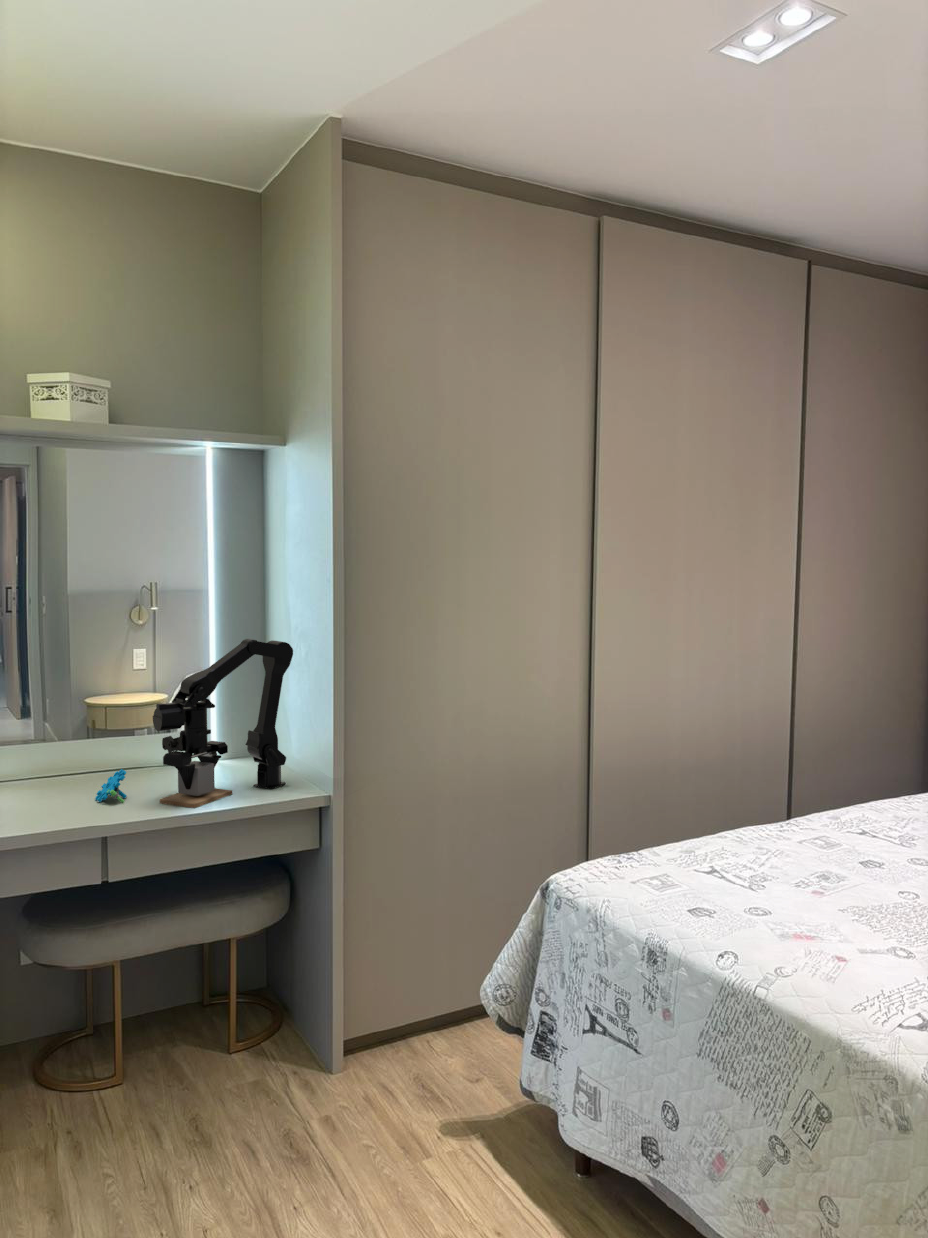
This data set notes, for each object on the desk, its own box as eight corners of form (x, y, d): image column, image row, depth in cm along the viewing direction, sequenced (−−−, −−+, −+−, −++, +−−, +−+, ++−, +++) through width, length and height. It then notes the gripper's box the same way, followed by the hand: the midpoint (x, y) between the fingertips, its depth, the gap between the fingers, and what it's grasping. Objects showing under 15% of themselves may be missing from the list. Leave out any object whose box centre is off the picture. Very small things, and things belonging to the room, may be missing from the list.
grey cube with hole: (194, 787, 252) (194, 760, 251) (214, 790, 249) (214, 762, 248) (178, 793, 246) (177, 765, 245) (198, 795, 243) (197, 767, 243)
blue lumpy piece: (93, 789, 249) (121, 762, 250) (110, 803, 252) (138, 776, 253) (92, 806, 239) (122, 777, 240) (111, 820, 241) (140, 791, 242)
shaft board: (198, 789, 257) (198, 773, 256) (232, 794, 252) (232, 777, 252) (159, 803, 243) (159, 785, 243) (194, 808, 238) (194, 790, 238)
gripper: (194, 718, 258) (195, 775, 259) (145, 730, 241) (146, 791, 242) (228, 721, 253) (229, 779, 255) (180, 733, 236) (181, 796, 238)
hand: (196, 786), depth 247 cm, fingers closed on grey cube with hole, 6 cm apart
